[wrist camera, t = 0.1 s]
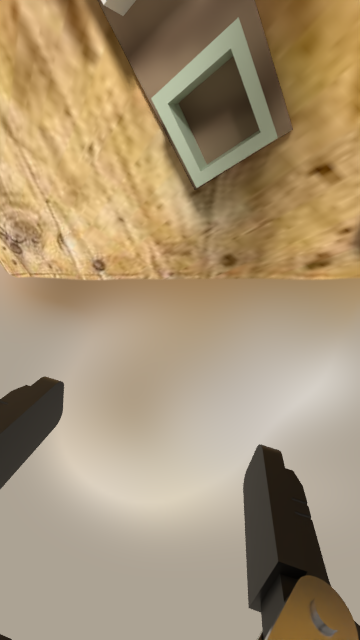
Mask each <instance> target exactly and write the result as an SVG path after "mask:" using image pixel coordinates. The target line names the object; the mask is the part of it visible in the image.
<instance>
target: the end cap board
mask: <svg viewBox="0 0 360 640" xmlns="http://www.w3.org/2000/svg"><path fill="white" fill-rule="evenodd" d="M98 2H99V4H100V6H101V8H102V10H103V12H104V14H105V16H106V18H107V20H108V22H109V24H110V26H111V28H112V30H113V31H114V33H115V35H116V37H117V39H118V41H119V43H120V45H121V47H122V49H123V51H124V53H125V55H126V57H127V59H128V61H129V63H130V65H131V67H132V69H133V70H134V72H135V74H136V76H137V78H138V80H139V82H140V84H141V86H142V88H143V90H144V92H145V94H146V96H147V98H148V100H149V102H150V104H151V106H152V108H153V109H154V111H155V113H156V115H157V117H158V119H159V121H160V123H161V125H162V127H163V129H164V131H165V133H166V135H167V137H168V139H169V141H170V143H171V145H172V147H173V148H174V150H175V152H176V154H177V156H178V158H179V160H180V162H181V164H182V166H183V168H184V170H185V172H186V174H187V176H188V178H189V180H190V182H191V184H192V186H193V187H194V189H195V190H196V189H197V188H196V186H195V184H194V182H193V180H192V178H191V176H190V174H189V172H188V170H187V168H186V166H185V164H184V162H183V160H182V159H181V157H180V155H179V153H178V151H177V149H176V147H175V145H174V143H173V141H172V139H171V137H170V135H169V133H168V131H167V129H166V127H165V125H164V123H163V121H162V119H161V117H160V115H159V113H158V111H157V109H156V107H155V105H154V103H153V101H152V99H151V98H152V97H153V96H154V95H155V94H156V93H158V92H159V91H160V90H161V89H162V88H163V87H164V86H165V85H166V84H167V83H168V82H169V81H170V80H172V79H173V78H174V77H175V76H176V75H177V74H178V73H179V72H180V71H181V70H182V69H183V68H184V67H185V66H187V65H188V64H189V63H190V62H191V61H192V60H193V59H194V58H195V57H196V56H197V55H198V54H199V53H201V52H202V51H203V50H204V49H205V48H206V47H207V46H208V45H209V44H210V43H211V42H212V41H213V40H214V39H216V38H217V37H218V36H219V35H220V34H221V33H222V32H223V31H224V30H225V29H226V28H227V27H228V26H230V25H231V24H232V23H233V22H234V21H235V20H236V19H237V18H238V17H239V20H240V23H241V26H242V29H243V32H244V35H245V38H246V41H247V44H248V47H249V50H250V53H251V56H252V60H253V63H254V66H255V69H256V72H257V75H258V78H259V81H260V84H261V87H262V90H263V93H264V96H265V99H266V102H267V106H268V109H269V112H270V115H271V118H272V121H273V124H274V127H275V130H276V133H277V137H278V138H280V137H282V136H283V135H285V134H286V133H288V132H290V131H291V130H293V128H292V125H291V121H290V118H289V115H288V111H287V108H286V104H285V101H284V98H283V94H282V91H281V88H280V84H279V81H278V77H277V74H276V71H275V67H274V64H273V61H272V57H271V54H270V50H269V47H268V44H267V40H266V37H265V33H264V30H263V27H262V23H261V20H260V17H259V13H258V10H257V6H256V3H255V0H136V1H135V2H134V4H133V5H132V6H131V7H130V8H129V10H128V11H127V12H126V13H125V15H124V16H122V15H120V14H118V13H117V12H115V11H113V10H111V9H110V8H108V7H106V6H104V5H103V3H102V1H101V0H98ZM178 104H179V106H180V108H181V110H182V112H183V114H184V116H185V119H186V121H187V123H188V125H189V127H190V129H191V131H192V134H193V136H194V138H195V140H196V142H197V144H198V146H199V148H200V151H201V153H202V155H203V157H204V159H205V161H206V163H207V164H209V163H210V162H212V161H213V160H215V159H216V158H218V157H219V156H221V155H222V154H224V153H225V152H227V151H228V150H230V149H231V148H233V147H234V146H236V145H238V144H239V143H241V142H242V141H244V140H245V139H247V138H248V137H250V136H251V135H253V134H254V133H256V132H257V131H259V127H258V124H257V121H256V118H255V115H254V112H253V110H252V107H251V104H250V101H249V98H248V95H247V93H246V90H245V87H244V84H243V81H242V78H241V76H240V73H239V70H238V67H237V64H236V61H235V59H234V56H233V57H231V58H230V59H229V60H228V61H227V62H226V63H224V64H223V65H222V66H221V67H220V68H219V69H217V70H216V71H215V72H214V73H213V74H212V75H210V76H209V77H208V78H207V79H206V80H205V81H203V82H202V83H201V84H200V85H199V86H198V87H196V88H195V89H194V90H193V91H192V92H191V93H189V94H188V95H187V96H186V97H185V98H184V99H182V100H181V101H180V102H179V103H178ZM278 138H277V139H278ZM277 139H275V140H277ZM275 140H274V141H275ZM272 142H273V141H272ZM272 142H270V143H272ZM270 143H269V144H270ZM269 144H267V145H269ZM267 145H265V146H267ZM265 146H264V147H265ZM264 147H262V148H264ZM262 148H261V149H262ZM259 150H260V149H259ZM259 150H257V151H259ZM257 151H256V152H257ZM256 152H254V153H256ZM254 153H253V154H254ZM251 155H252V154H251ZM251 155H249V156H251ZM249 156H248V157H249ZM248 157H246V158H248ZM246 158H245V159H246ZM243 160H244V159H243ZM243 160H241V161H243ZM241 161H240V162H241ZM238 163H239V162H238ZM238 163H236V164H238ZM236 164H235V165H236ZM235 165H233V166H235ZM233 166H232V167H233ZM230 168H231V167H230ZM230 168H228V169H230ZM228 169H227V170H228ZM227 170H225V171H227ZM225 171H224V172H225ZM222 173H223V172H222ZM222 173H220V174H222ZM220 174H219V175H220ZM217 176H218V175H217ZM217 176H215V177H217ZM215 177H214V178H215ZM214 178H212V179H214ZM212 179H211V180H212ZM209 181H210V180H209ZM209 181H207V182H209ZM207 182H206V183H207ZM204 184H205V183H204ZM204 184H203V185H204ZM201 186H202V185H201ZM201 186H199V187H201ZM199 187H198V188H199Z"/></svg>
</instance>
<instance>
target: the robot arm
mask: <svg viewBox="0 0 360 640" xmlns="http://www.w3.org/2000/svg"><path fill="white" fill-rule="evenodd" d="M63 393H64V384H63V382H61V381H58V380H54V379H51V378H48V377H42V378H40V379H39V380H38V381H37V382H35V383H34V384H33V385H32V386H28V385H25V386H23V387H20V388H18V389H16V390H13V391H11V392H10V393H8V394H7V395H6V396H4V397H3V398H2V399H0V489H1V488H2V487H3V486H4V484H5V483H6V482H7V481H8V480H9V479H10V478H11V476H12V475H13V474H14V473H15V472H16V471H17V470H18V469H19V467H20V466H21V465H22V464H23V463H24V462H25V461H26V460H27V458H28V457H29V456H30V455H31V454H32V453H33V452H34V450H35V449H36V448H37V447H38V446H39V445H40V444H41V442H42V441H43V440H44V439H45V438H46V437H47V436H48V434H49V433H50V432H51V431H52V430H53V429H54V428H55V427H56V425H57V424H58V422H59V420H60V418H61V415H62V411H63ZM243 493H244V513H245V514H244V515H245V536H246V557H247V579H248V600H249V608H251V609H253V610H256V611H259V612H261V614H262V627H263V630H262V631H261V633H260V635H259V636H258V638H257V640H360V626H359V625H358V624H357V623H356V622H355V621H354V620H353V618H352V615H351V613H350V611H349V609H348V608H347V606H346V604H345V603H344V601H343V600H342V598H341V597H340V596H339V595H338V593H337V592H336V591H335V590H334V589H333V588H332V587H331V585H330V582H329V579H328V576H327V573H326V569H325V565H324V562H323V558H322V555H321V551H320V547H319V543H318V540H317V536H316V533H315V529H314V525H313V522H312V520H311V515H310V511H309V507H308V506H307V500H306V496H305V493H304V489H303V486H302V484H301V483H300V481H299V479H298V478H297V476H296V475H295V473H294V472H293V471H292V470H289V469H286V468H285V466H284V461H283V457H282V454H281V452H280V451H279V450H276V449H273V448H270V447H266V446H264V445H258V446H257V448H256V451H255V453H254V455H253V457H252V460H251V462H250V464H249V466H248V469H247V471H246V474H245V478H244V487H243ZM0 640H12V639H10V638H8V637H5V636H3V635H1V634H0Z"/></svg>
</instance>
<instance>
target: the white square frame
mask: <svg viewBox="0 0 360 640" xmlns="http://www.w3.org/2000/svg"><path fill="white" fill-rule="evenodd" d="M101 1H102V3H103V5H104V6H106V7H108V8H110V9H111V10H113V11H115V12H117V13H118V14H120V15H122V16H124V15H125V13H126V12H127V11H128V10H129V8H130V7H131V6H132V5H133V4H134V2H135V1H136V0H101Z"/></svg>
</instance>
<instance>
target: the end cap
mask: <svg viewBox="0 0 360 640" xmlns="http://www.w3.org/2000/svg"><path fill="white" fill-rule="evenodd" d="M233 56H234V59H235V61H236V64H237V67H238V70H239V73H240V76H241V78H242V81H243V84H244V87H245V90H246V93H247V95H248V98H249V101H250V104H251V107H252V110H253V112H254V115H255V118H256V121H257V124H258V127H259V131H257V132H256V133H254V134H253V135H251V136H250V137H248V138H247V139H245V140H244V141H242V142H241V143H239V144H238V145H236V146H234V147H233V148H231V149H230V150H228V151H227V152H225V153H224V154H222V155H221V156H219V157H218V158H216V159H215V160H213V161H212V162H210V163H209V164H207V163H206V161H205V159H204V157H203V155H202V153H201V151H200V148H199V146H198V144H197V142H196V140H195V138H194V136H193V134H192V131H191V129H190V127H189V125H188V123H187V121H186V119H185V116H184V114H183V112H182V110H181V108H180V106H179V104H178V103H179V102H180V101H181V100H182V99H184V98H185V97H186V96H187V95H188V94H189V93H191V92H192V91H193V90H194V89H195V88H196V87H198V86H199V85H200V84H201V83H202V82H203V81H205V80H206V79H207V78H208V77H209V76H210V75H212V74H213V73H214V72H215V71H216V70H217V69H219V68H220V67H221V66H222V65H223V64H224V63H226V62H227V61H228V60H229V59H230V58H231V57H233ZM151 99H152V101H153V103H154V105H155V107H156V109H157V111H158V113H159V115H160V117H161V119H162V121H163V123H164V125H165V127H166V129H167V131H168V133H169V135H170V137H171V139H172V141H173V143H174V145H175V147H176V149H177V151H178V153H179V155H180V157H181V159H182V160H183V162H184V164H185V166H186V168H187V170H188V172H189V174H190V176H191V178H192V180H193V182H194V184H195V186H196V188H198V187H199V186H201V185H203V184H204V183H206V182H207V181H209V180H211V179H212V178H214V177H215V176H217V175H219V174H220V173H222V172H224V171H225V170H227V169H228V168H230V167H232V166H233V165H235V164H236V163H238V162H240V161H241V160H243V159H245V158H246V157H248V156H249V155H251V154H253V153H254V152H256V151H257V150H259V149H261V148H262V147H264V146H265V145H267V144H269V143H270V142H272V141H274V140H275V139H277V138H278V137H277V133H276V130H275V127H274V124H273V121H272V118H271V115H270V112H269V109H268V106H267V102H266V99H265V96H264V93H263V90H262V87H261V84H260V81H259V78H258V75H257V72H256V69H255V66H254V63H253V60H252V56H251V53H250V50H249V47H248V44H247V41H246V38H245V35H244V32H243V29H242V26H241V23H240V20H239V17H238V18H237V19H236V20H235V21H234V22H233V23H232V24H231V25H230V26H228V27H227V28H226V29H225V30H224V31H223V32H222V33H221V34H220V35H219V36H218V37H217V38H216V39H214V40H213V41H212V42H211V43H210V44H209V45H208V46H207V47H206V48H205V49H204V50H203V51H202V52H201V53H199V54H198V55H197V56H196V57H195V58H194V59H193V60H192V61H191V62H190V63H189V64H188V65H187V66H185V67H184V68H183V69H182V70H181V71H180V72H179V73H178V74H177V75H176V76H175V77H174V78H173V79H172V80H170V81H169V82H168V83H167V84H166V85H165V86H164V87H163V88H162V89H161V90H160V91H159V92H158V93H156V94H155V95H154V96H153V97H152V98H151Z"/></svg>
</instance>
